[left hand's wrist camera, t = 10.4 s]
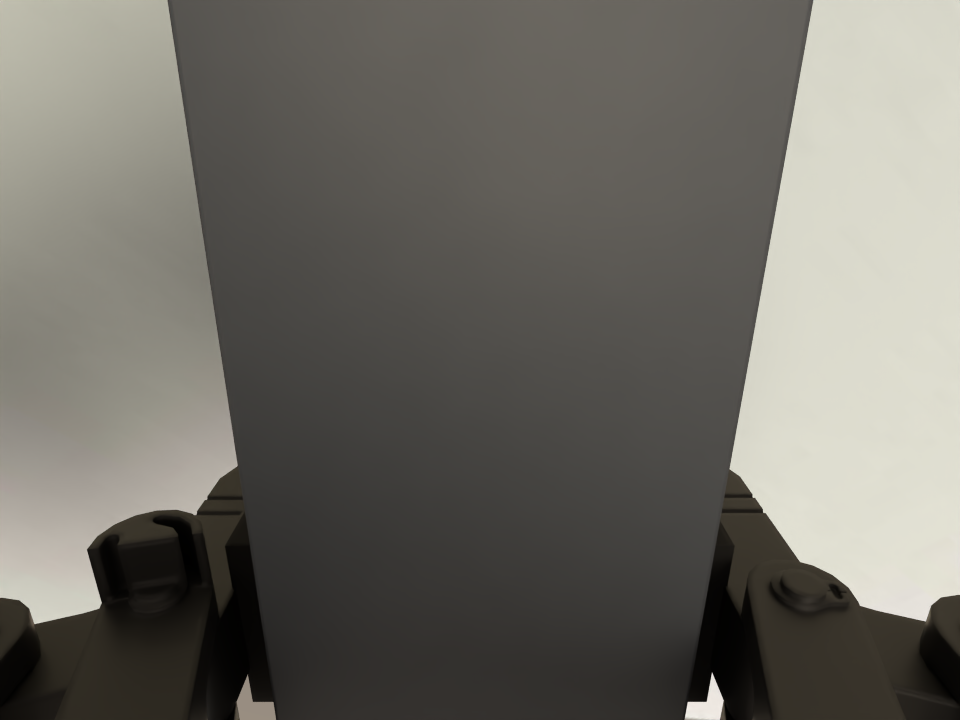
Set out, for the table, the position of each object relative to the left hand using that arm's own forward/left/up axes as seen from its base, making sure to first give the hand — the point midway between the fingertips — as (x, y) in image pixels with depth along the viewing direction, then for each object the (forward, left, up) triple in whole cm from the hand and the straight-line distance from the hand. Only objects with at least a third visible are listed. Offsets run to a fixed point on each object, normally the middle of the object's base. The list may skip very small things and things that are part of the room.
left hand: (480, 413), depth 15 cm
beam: (-3, +34, 0) cm, 34 cm away
